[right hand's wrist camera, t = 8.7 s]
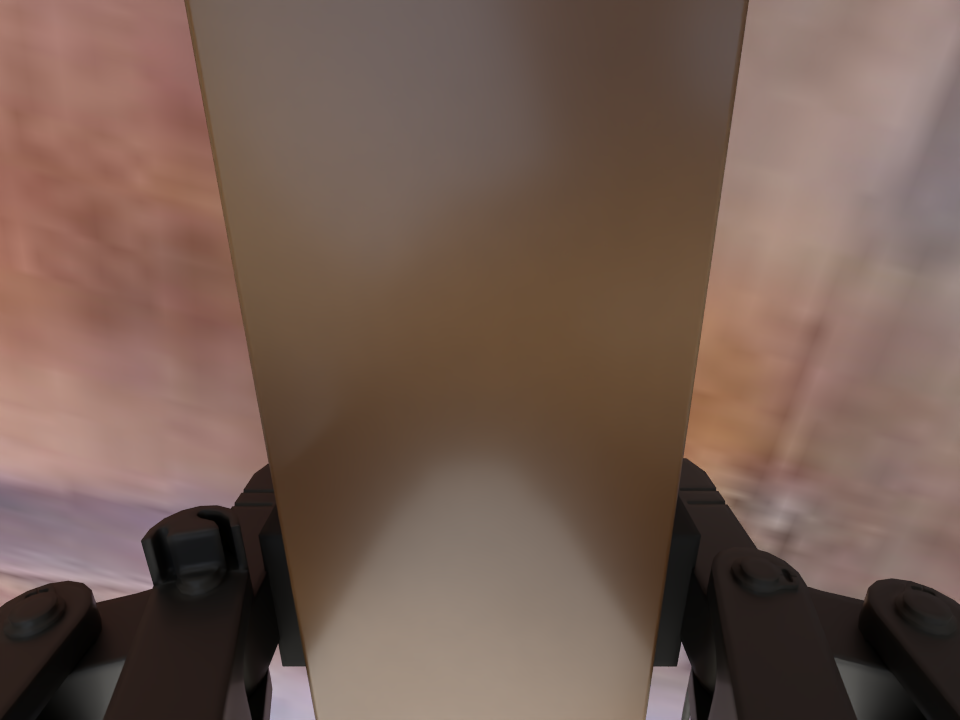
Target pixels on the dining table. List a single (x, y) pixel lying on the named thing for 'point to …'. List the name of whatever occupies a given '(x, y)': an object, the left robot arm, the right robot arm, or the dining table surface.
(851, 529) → the dining table surface
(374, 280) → the beam
